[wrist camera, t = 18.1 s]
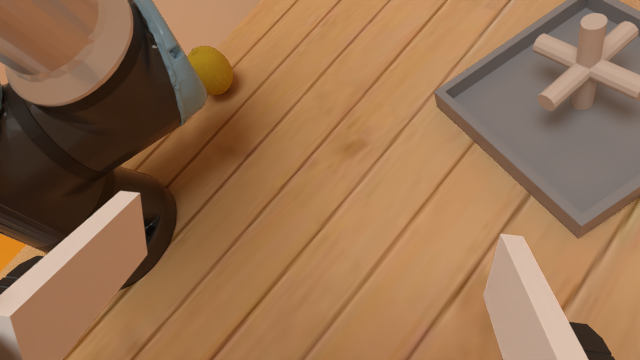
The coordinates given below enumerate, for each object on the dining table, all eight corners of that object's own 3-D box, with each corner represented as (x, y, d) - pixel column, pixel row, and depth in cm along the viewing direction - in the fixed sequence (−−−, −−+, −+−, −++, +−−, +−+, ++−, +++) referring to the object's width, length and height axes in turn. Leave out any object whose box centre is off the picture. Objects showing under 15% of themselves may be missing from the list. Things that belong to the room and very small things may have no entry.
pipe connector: (573, 49, 47) (582, -36, 39) (672, 92, 41) (706, 2, 33) (502, 111, 46) (497, 37, 38) (592, 165, 40) (607, 90, 32)
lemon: (240, 70, 65) (210, 27, 59) (245, 96, 62) (213, 54, 56) (207, 85, 66) (173, 45, 60) (209, 112, 63) (174, 73, 56)
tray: (437, 106, 50) (433, 91, 48) (585, 4, 50) (588, -15, 48) (578, 238, 38) (581, 226, 36) (773, 105, 38) (787, 86, 36)
